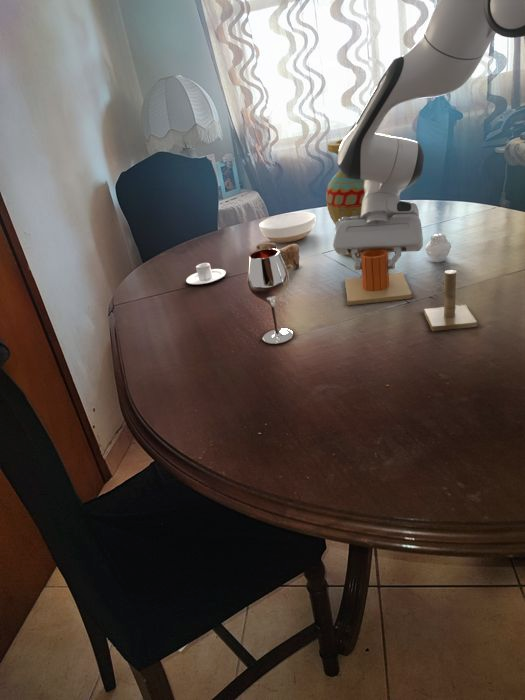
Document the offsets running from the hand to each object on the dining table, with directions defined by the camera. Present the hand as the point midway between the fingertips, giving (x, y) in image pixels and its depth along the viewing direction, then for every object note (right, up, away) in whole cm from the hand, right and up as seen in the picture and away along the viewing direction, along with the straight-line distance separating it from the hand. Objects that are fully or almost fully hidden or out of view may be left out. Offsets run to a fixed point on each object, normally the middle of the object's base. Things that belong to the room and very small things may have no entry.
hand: (374, 268), depth 106 cm
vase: (+5, +11, +31) cm, 33 cm away
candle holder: (-42, +2, +31) cm, 53 cm away
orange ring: (+1, -4, +3) cm, 5 cm away
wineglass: (-22, -16, -9) cm, 29 cm away
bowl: (-16, +20, +55) cm, 61 cm away
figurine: (-20, +3, +25) cm, 32 cm away
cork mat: (+1, -5, +3) cm, 6 cm away
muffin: (+20, +4, +13) cm, 24 cm away
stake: (+11, -13, -15) cm, 23 cm away
